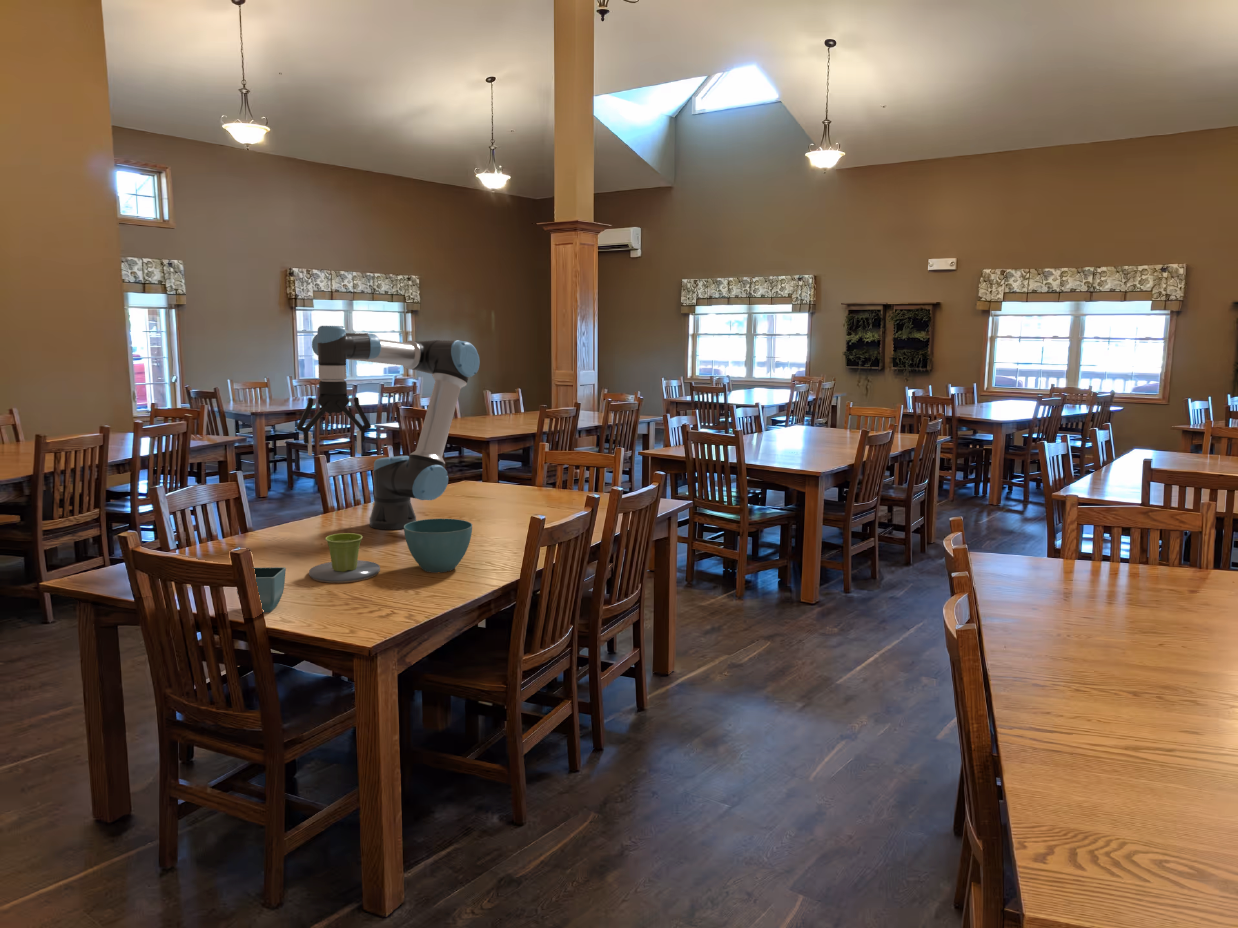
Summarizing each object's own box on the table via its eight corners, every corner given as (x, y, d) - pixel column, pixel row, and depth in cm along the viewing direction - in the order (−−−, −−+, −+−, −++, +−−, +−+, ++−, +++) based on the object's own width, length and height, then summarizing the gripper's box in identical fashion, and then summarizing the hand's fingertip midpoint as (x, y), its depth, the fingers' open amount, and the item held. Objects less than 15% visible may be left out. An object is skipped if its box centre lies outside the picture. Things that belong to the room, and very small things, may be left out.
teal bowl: (394, 566, 230) (393, 522, 229) (454, 556, 241) (453, 515, 240) (421, 581, 216) (421, 535, 214) (484, 571, 227) (484, 527, 225)
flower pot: (249, 603, 196) (247, 566, 195) (287, 603, 197) (286, 566, 195) (235, 616, 187) (233, 577, 186) (276, 615, 188) (274, 577, 187)
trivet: (372, 561, 234) (372, 557, 234) (386, 578, 218) (386, 574, 218) (305, 568, 226) (304, 564, 226) (313, 586, 210) (313, 581, 210)
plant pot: (368, 565, 226) (368, 533, 225) (354, 574, 217) (353, 542, 216) (335, 563, 227) (334, 532, 226) (320, 572, 218) (319, 540, 217)
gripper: (374, 379, 247) (376, 450, 250) (284, 379, 235) (287, 454, 238) (380, 380, 240) (381, 453, 243) (287, 381, 229) (290, 457, 232)
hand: (335, 454), depth 241 cm, fingers open, 13 cm apart
